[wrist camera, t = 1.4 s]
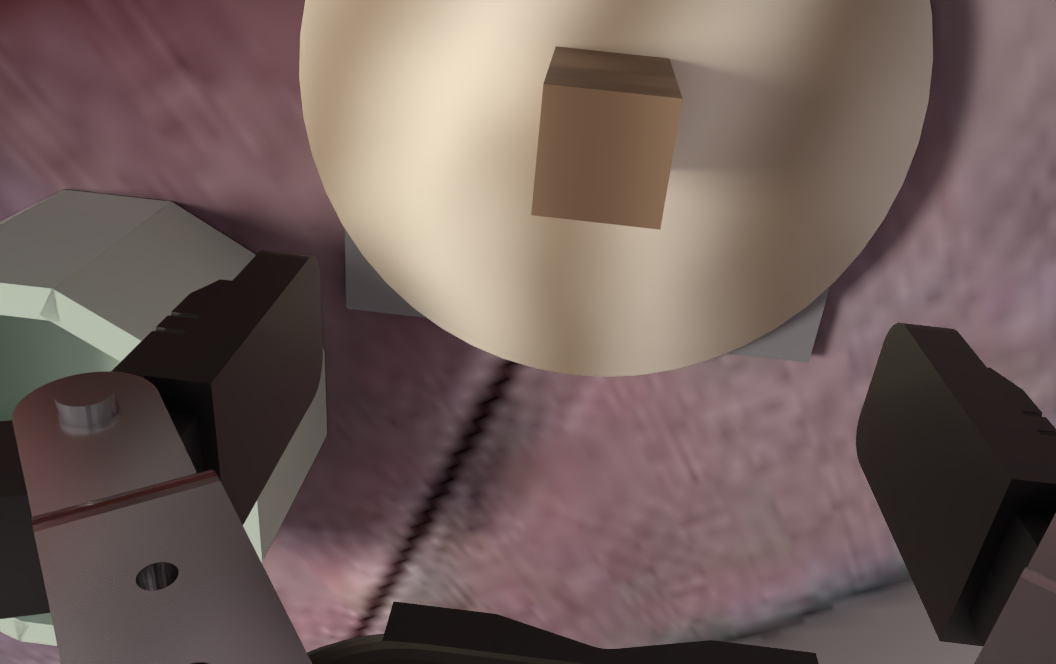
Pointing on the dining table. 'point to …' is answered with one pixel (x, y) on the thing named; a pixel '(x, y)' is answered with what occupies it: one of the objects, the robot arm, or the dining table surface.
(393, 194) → the lid
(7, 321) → the bowl
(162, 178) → the dining table surface
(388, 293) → the mat
